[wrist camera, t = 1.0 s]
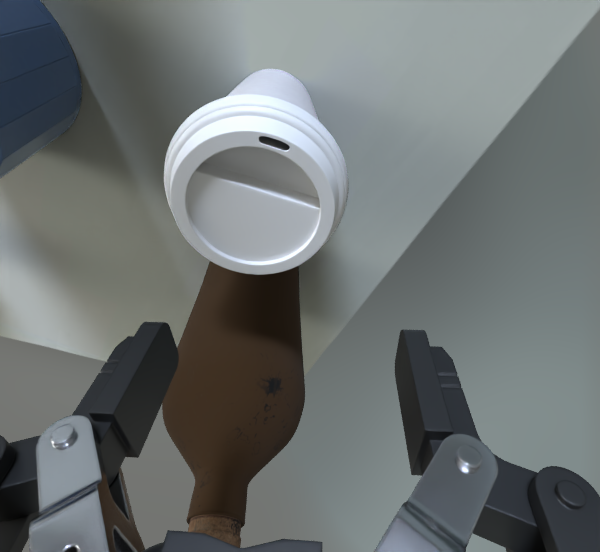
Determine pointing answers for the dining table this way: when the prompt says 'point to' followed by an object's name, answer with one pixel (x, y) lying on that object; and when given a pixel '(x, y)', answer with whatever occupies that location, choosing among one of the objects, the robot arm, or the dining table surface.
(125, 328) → the dining table surface
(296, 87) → the coffee cup
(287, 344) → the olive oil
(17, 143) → the cup
